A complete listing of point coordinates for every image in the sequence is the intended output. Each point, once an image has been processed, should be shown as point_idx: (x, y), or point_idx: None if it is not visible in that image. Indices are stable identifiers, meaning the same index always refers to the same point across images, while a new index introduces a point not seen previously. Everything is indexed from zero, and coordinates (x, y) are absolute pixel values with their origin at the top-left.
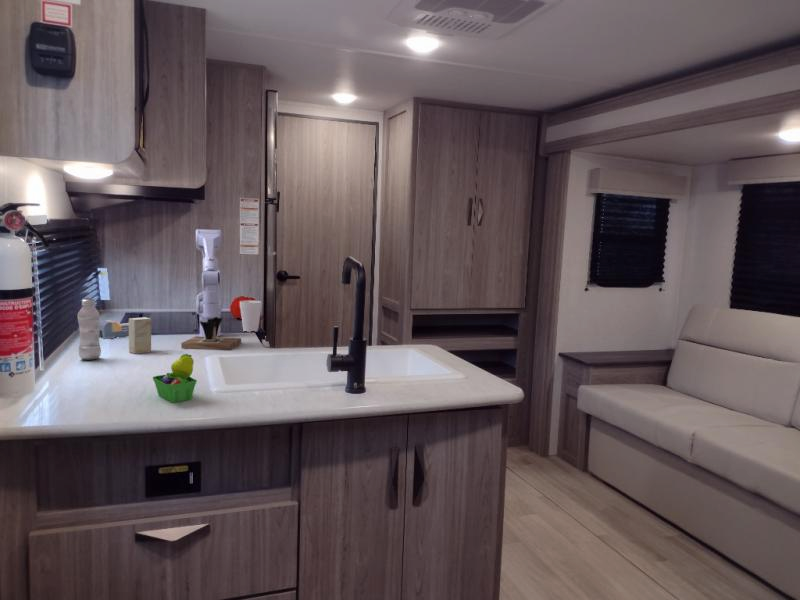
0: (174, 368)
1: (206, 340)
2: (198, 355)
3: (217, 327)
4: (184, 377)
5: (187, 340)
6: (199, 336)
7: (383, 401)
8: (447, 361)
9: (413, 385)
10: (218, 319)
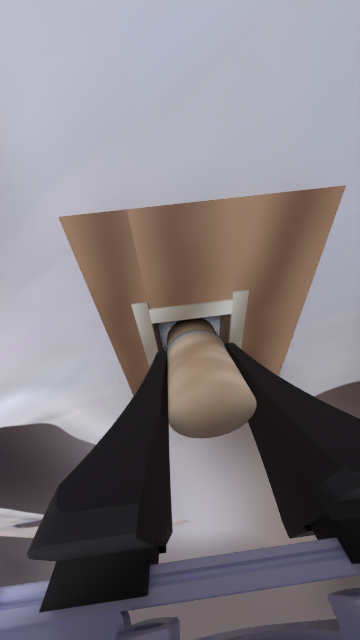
0: None
1: (169, 342)
2: (19, 367)
3: (249, 424)
4: None
5: (165, 210)
6: (332, 219)
7: (14, 534)
8: (181, 521)
9: None
10: (290, 526)
